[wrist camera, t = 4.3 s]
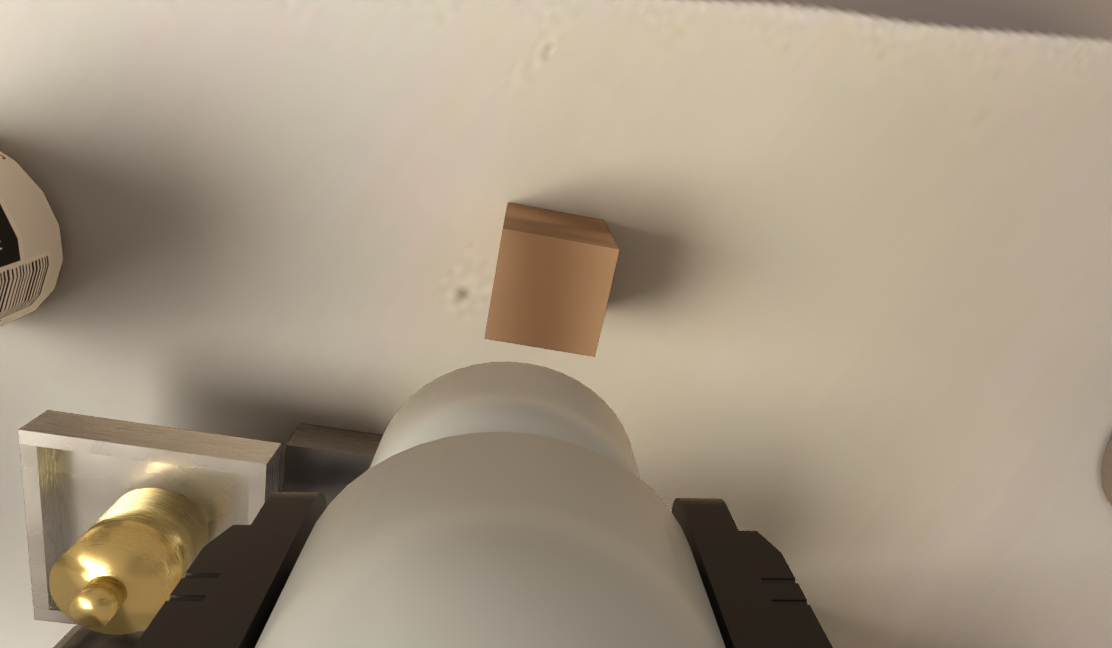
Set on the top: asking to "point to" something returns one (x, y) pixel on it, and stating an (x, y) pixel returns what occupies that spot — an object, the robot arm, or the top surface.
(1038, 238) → the top surface
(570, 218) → the walnut block
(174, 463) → the balance
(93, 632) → the beverage cup
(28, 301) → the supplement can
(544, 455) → the white stepped cylinder
